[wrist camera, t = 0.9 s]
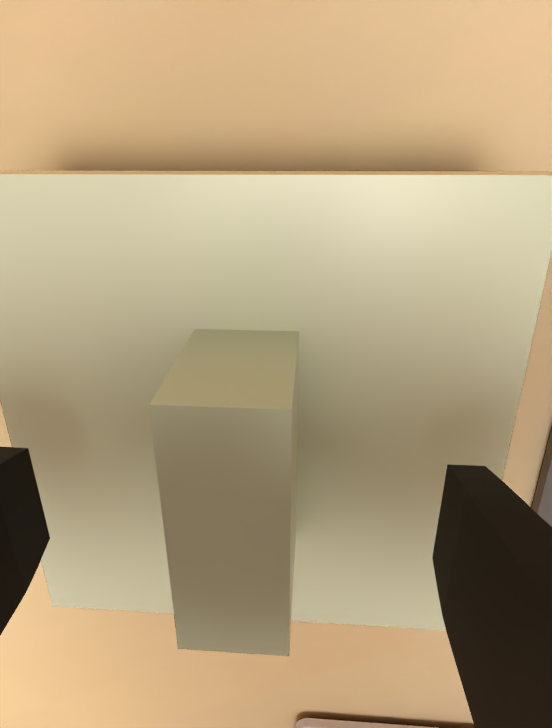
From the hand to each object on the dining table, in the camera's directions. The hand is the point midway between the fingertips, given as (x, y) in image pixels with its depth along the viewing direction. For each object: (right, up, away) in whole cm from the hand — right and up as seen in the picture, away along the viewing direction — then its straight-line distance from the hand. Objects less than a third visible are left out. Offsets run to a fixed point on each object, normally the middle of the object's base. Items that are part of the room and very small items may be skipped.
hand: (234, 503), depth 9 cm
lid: (0, +1, +3) cm, 3 cm away
